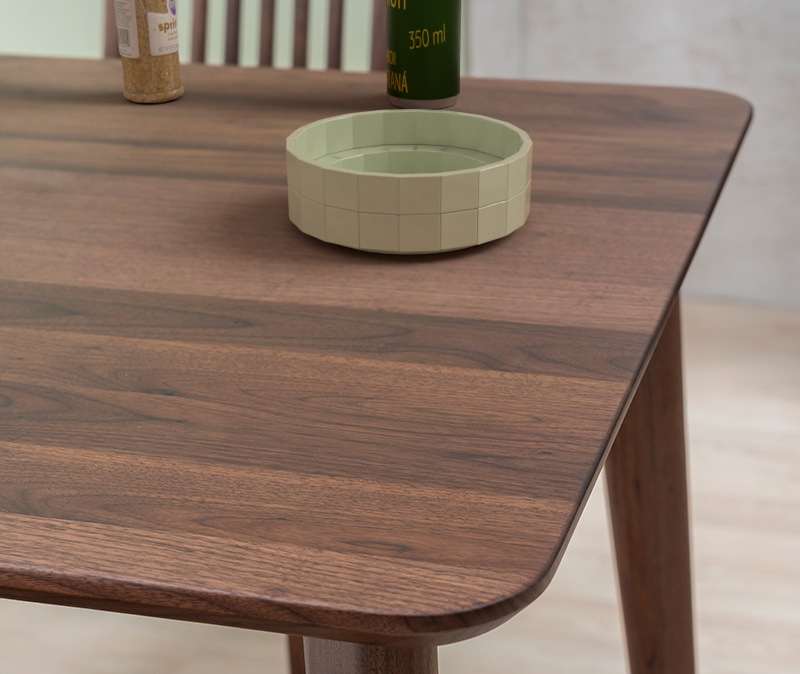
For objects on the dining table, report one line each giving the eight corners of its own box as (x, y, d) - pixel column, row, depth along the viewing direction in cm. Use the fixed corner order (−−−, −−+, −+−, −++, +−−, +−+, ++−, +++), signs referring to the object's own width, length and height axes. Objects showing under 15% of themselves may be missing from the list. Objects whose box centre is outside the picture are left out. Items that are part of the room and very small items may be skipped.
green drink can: (439, 89, 96) (440, -78, 90) (472, 105, 91) (476, -70, 86) (374, 97, 93) (372, -74, 88) (406, 114, 89) (406, -65, 84)
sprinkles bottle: (186, 102, 92) (170, -93, 86) (123, 106, 92) (102, -91, 85) (181, 88, 96) (166, -100, 90) (121, 91, 95) (101, -98, 89)
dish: (256, 252, 65) (251, 166, 63) (328, 178, 76) (326, 103, 74) (507, 272, 62) (510, 184, 60) (543, 192, 73) (546, 115, 71)
